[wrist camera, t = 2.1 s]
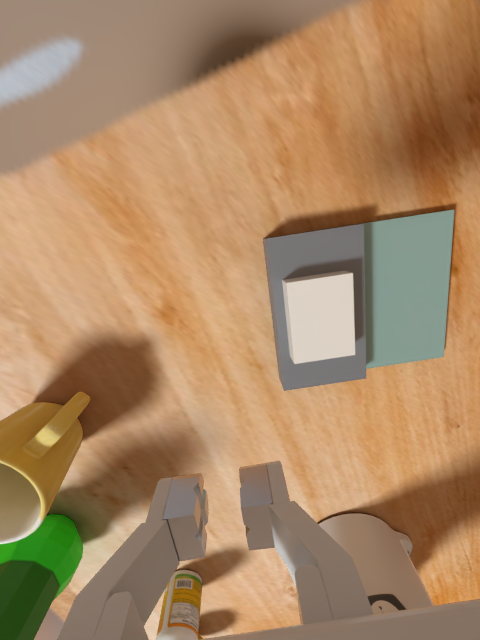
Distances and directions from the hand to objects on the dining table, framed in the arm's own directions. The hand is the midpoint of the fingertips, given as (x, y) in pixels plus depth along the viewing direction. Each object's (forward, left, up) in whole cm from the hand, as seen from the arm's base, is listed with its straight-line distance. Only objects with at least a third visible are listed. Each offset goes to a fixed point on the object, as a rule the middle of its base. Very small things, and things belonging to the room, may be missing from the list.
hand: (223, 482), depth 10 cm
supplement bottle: (-40, +13, -21) cm, 47 cm away
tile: (0, -9, -18) cm, 20 cm away
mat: (0, -19, -21) cm, 28 cm away
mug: (-9, +21, -21) cm, 31 cm away
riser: (0, -9, -21) cm, 23 cm away
